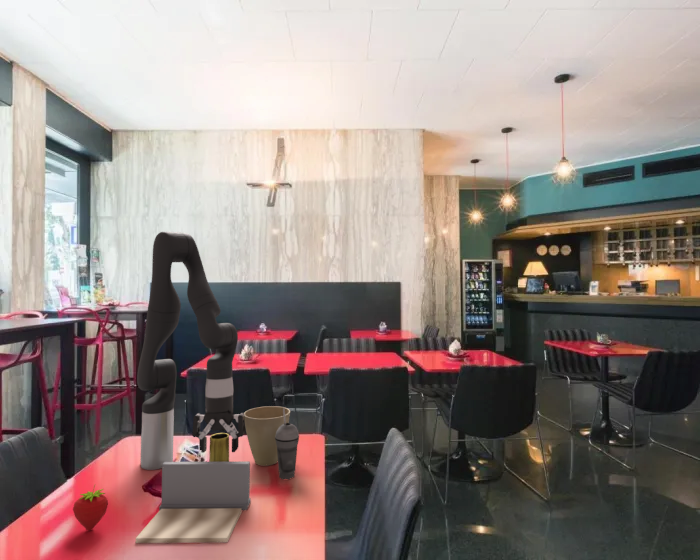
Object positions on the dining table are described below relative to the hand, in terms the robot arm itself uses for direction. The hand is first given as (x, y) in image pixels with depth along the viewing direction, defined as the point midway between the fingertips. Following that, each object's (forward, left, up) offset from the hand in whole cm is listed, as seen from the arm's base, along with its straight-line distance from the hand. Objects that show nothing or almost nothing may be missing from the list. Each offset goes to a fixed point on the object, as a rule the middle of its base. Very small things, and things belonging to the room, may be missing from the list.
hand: (219, 451), depth 112 cm
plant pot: (-2, +20, -10) cm, 23 cm away
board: (+11, -15, -10) cm, 21 cm away
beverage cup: (+11, +16, -10) cm, 22 cm away
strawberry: (-7, -30, -10) cm, 32 cm away
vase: (0, 0, -10) cm, 10 cm away
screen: (+6, -8, -10) cm, 14 cm away
